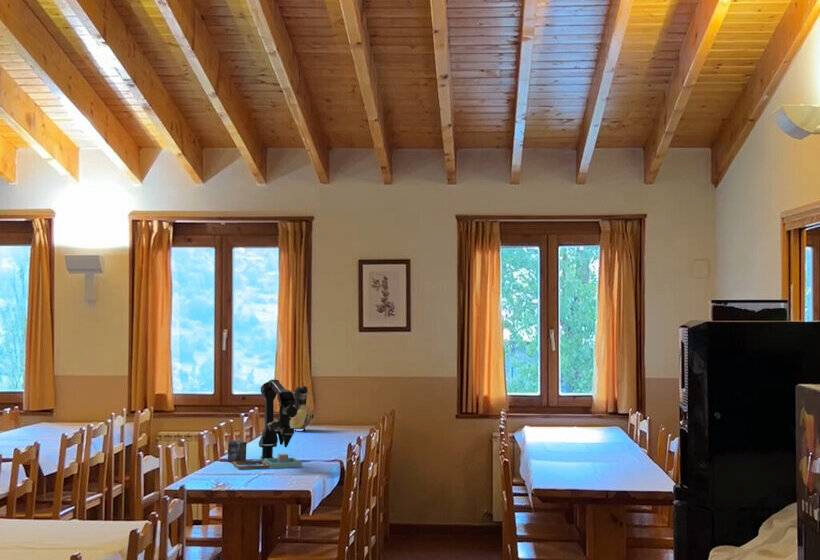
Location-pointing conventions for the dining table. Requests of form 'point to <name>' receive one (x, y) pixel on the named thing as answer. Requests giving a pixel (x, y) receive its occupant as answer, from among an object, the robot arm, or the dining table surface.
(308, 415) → the amphora
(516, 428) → the dining table surface
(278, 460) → the slate block
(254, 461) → the corral
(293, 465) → the bin
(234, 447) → the box
